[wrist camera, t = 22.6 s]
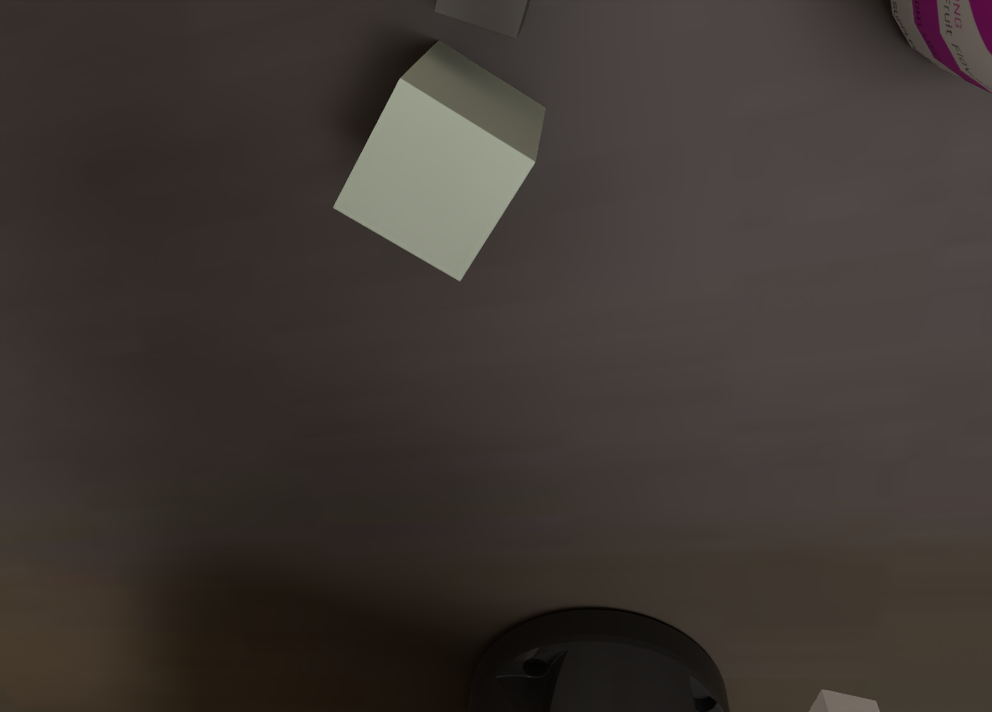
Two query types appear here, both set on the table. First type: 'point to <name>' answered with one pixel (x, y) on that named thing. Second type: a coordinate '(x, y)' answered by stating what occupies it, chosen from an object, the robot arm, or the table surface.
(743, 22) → the table surface
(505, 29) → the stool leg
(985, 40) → the supplement can
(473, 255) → the tall sage green block
